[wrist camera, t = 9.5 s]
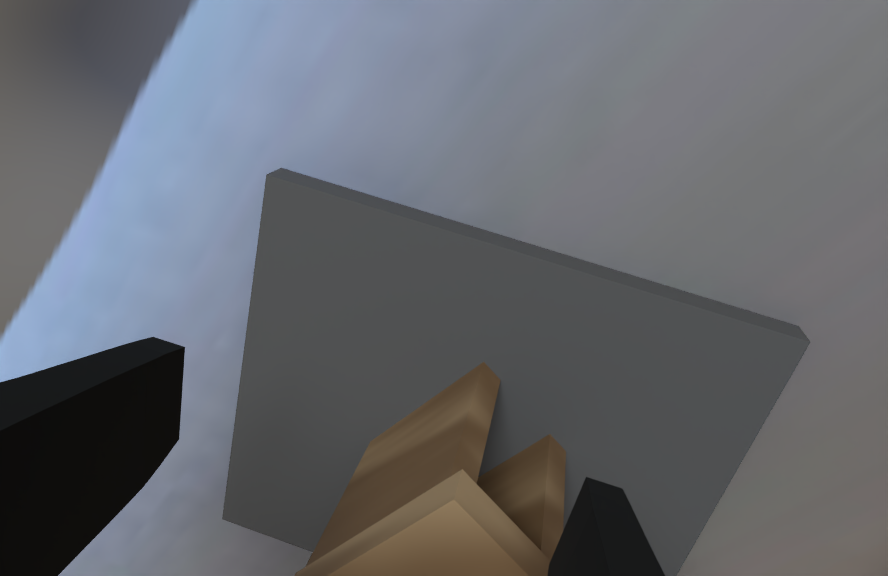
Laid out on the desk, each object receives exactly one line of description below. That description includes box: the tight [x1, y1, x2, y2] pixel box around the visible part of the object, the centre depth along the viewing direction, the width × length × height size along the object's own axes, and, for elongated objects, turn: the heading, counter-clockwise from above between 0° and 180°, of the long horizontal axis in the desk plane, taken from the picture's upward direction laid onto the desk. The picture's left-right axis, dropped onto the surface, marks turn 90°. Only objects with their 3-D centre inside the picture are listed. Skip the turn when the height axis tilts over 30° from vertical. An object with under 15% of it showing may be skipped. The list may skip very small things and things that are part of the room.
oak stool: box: [295, 362, 566, 576], centre depth 18 cm, size 4×6×6 cm, turn 133°
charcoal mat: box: [222, 168, 810, 576], centre depth 21 cm, size 16×14×1 cm
